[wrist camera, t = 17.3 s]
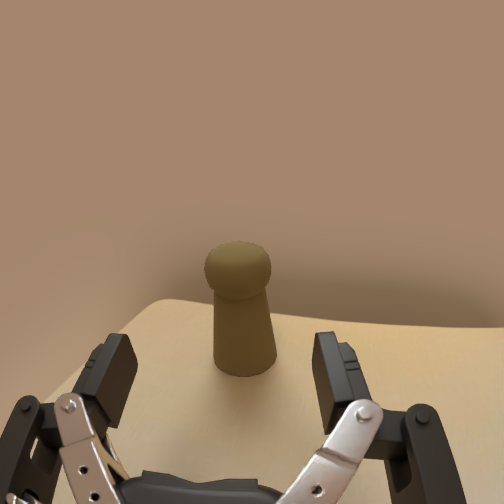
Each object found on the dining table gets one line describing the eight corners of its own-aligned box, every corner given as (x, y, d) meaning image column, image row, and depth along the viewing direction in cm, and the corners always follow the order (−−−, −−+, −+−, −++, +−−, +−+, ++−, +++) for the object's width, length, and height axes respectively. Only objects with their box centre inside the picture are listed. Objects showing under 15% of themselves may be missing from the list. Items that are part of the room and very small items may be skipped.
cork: (273, 379, 24) (272, 268, 19) (206, 373, 25) (185, 265, 20) (279, 334, 30) (278, 233, 25) (221, 331, 30) (208, 232, 26)
